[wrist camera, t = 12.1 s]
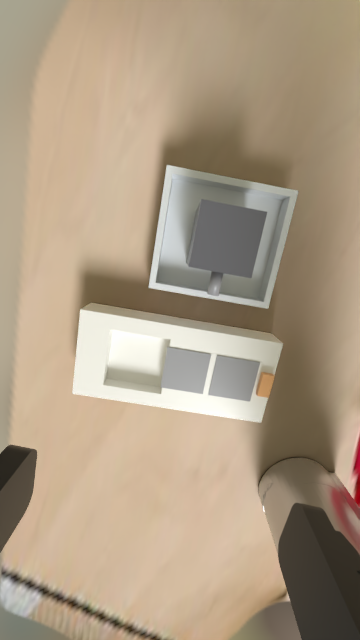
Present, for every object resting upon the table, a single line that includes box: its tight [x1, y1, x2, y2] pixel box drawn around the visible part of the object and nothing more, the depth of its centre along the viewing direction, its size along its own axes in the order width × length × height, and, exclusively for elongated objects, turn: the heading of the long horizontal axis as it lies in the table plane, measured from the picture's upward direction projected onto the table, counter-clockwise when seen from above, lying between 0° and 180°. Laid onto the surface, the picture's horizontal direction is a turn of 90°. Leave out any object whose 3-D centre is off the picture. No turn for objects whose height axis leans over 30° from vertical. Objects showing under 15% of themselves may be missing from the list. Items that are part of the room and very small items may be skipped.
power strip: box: [72, 303, 283, 423], centre depth 30 cm, size 20×9×4 cm, turn 80°
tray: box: [148, 165, 298, 309], centre depth 28 cm, size 12×11×2 cm
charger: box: [186, 199, 267, 296], centre depth 25 cm, size 5×7×7 cm
